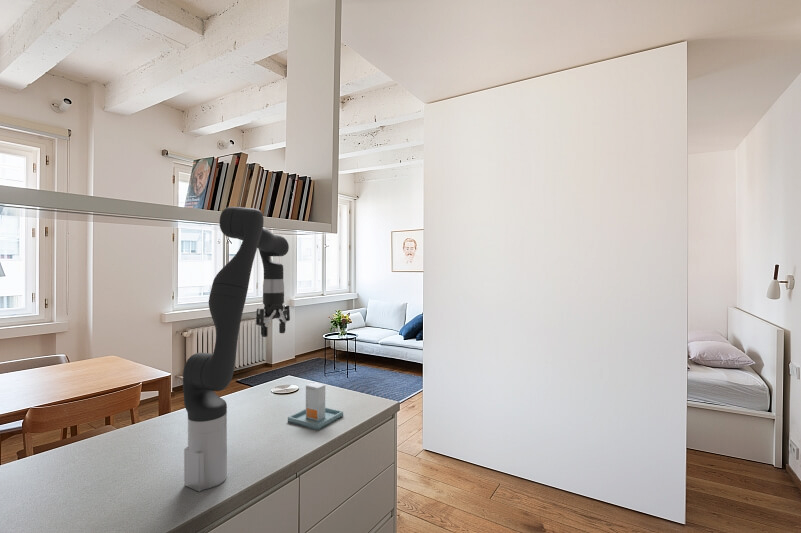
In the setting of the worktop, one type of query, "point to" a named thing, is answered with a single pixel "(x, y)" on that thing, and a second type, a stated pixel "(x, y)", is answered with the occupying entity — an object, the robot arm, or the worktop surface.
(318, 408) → the skincare box
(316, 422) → the tray
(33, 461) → the worktop surface
